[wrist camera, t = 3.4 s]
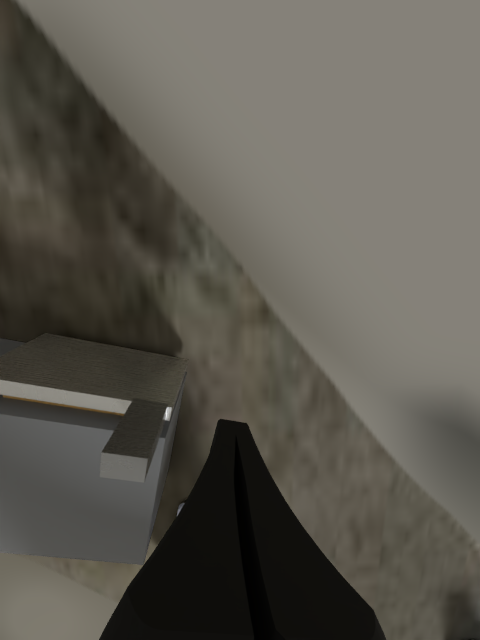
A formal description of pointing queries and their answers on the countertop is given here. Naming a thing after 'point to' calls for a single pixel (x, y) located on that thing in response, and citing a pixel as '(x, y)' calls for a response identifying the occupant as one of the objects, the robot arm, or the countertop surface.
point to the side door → (101, 391)
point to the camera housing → (73, 482)
